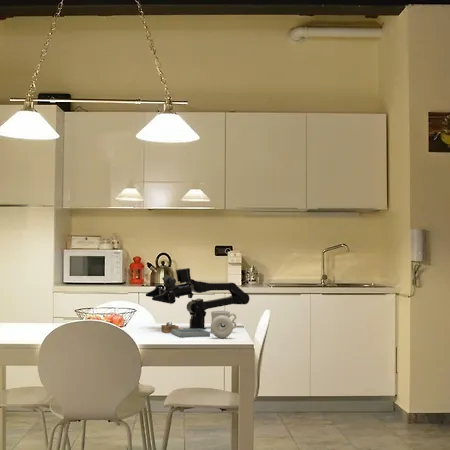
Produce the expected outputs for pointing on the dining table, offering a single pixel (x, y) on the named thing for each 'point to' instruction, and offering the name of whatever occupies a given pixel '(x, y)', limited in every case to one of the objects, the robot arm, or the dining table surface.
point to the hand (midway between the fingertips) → (148, 296)
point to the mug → (224, 313)
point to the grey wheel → (216, 330)
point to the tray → (190, 332)
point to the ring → (168, 328)
